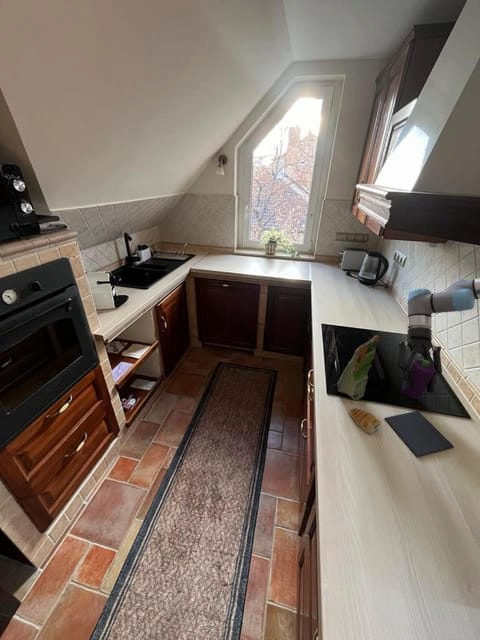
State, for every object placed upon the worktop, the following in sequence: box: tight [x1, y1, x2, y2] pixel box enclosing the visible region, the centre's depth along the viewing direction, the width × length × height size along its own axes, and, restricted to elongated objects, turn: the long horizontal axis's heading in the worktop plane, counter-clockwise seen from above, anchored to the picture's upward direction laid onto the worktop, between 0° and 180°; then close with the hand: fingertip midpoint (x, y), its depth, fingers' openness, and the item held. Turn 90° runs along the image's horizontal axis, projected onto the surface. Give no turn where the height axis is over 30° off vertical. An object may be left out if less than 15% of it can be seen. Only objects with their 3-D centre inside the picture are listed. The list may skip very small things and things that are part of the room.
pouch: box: [336, 334, 381, 401], centre depth 93 cm, size 11×12×25 cm
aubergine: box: [401, 359, 435, 400], centre depth 93 cm, size 6×6×15 cm
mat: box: [384, 410, 455, 458], centre depth 84 cm, size 14×14×1 cm
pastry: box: [350, 407, 381, 435], centre depth 86 cm, size 9×7×4 cm
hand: (419, 390), depth 91 cm, fingers closed on aubergine, 6 cm apart
